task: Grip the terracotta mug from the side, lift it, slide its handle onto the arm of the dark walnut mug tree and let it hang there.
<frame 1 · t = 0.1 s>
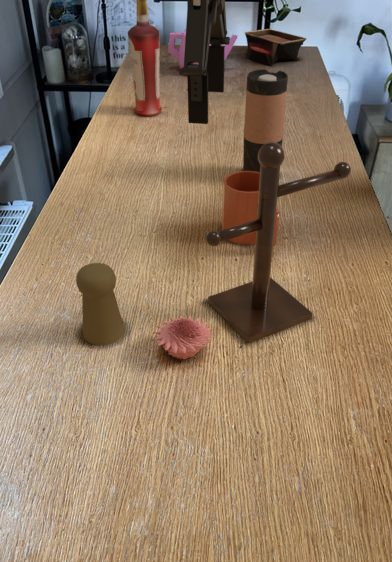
hand: (207, 106, 88), 23 cm above the table, tool pointing down, fingers open, 13 cm apart
mug: (245, 234, 104), on the table
travel mug: (260, 178, 121), on the table
olive brown pawn: (104, 335, 84), on the table
liquor: (148, 115, 149), on the table
dark brown boxy piece: (272, 61, 183), on the table
mug tree: (258, 312, 87), on the table
flower: (183, 354, 80), on the table
teapot: (202, 73, 174), on the table
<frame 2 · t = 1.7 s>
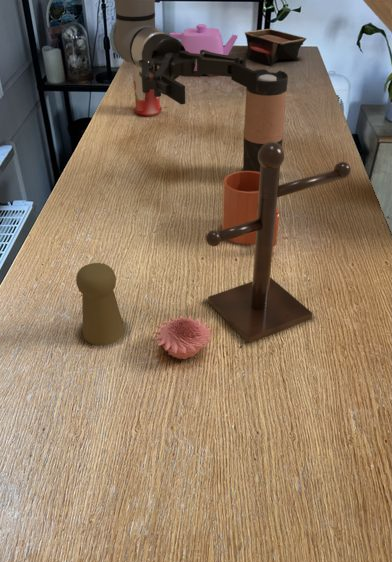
hand: (219, 88, 95), 22 cm above the table, tool horizontal, fingers open, 13 cm apart
nothing on the table moved.
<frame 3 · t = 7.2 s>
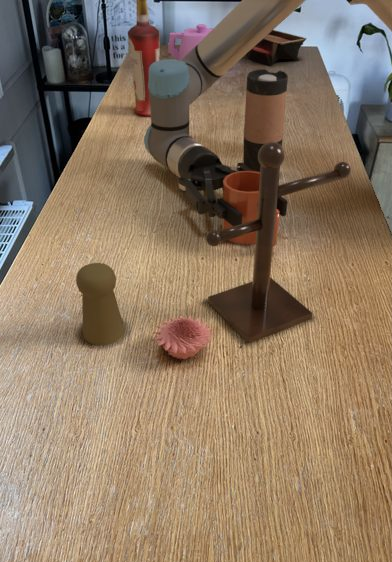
hand: (262, 215, 97), 6 cm above the table, tool horizontal, fingers closed on mug, 8 cm apart
mug: (245, 234, 104), on the table, touching gripper
everything else where it was.
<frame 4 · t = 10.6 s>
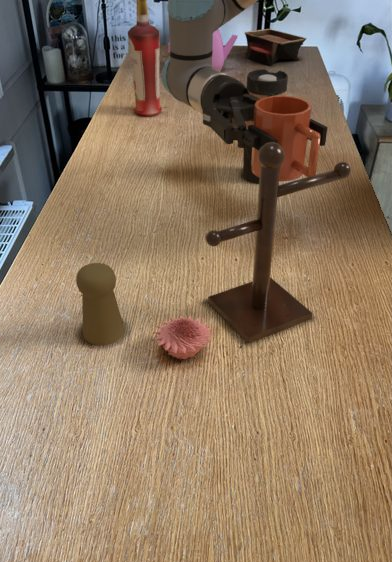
hand: (300, 142, 85), 19 cm above the table, tool horizontal, fingers closed on mug, 8 cm apart
mug: (277, 170, 93), point 13 cm above the table, touching gripper
everything else where it was.
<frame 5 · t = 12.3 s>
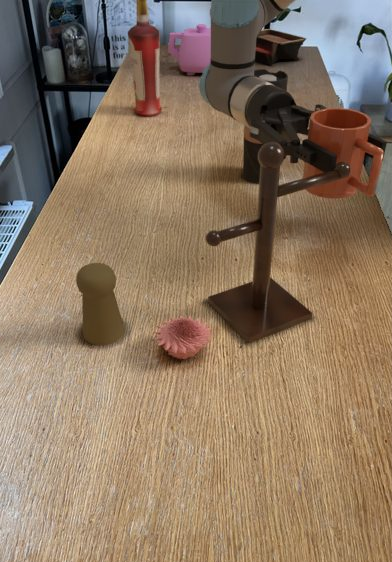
hand: (358, 158, 81), 20 cm above the table, tool horizontal, fingers closed on mug, 8 cm apart
mug: (330, 185, 88), point 14 cm above the table, touching gripper
everything else where it was.
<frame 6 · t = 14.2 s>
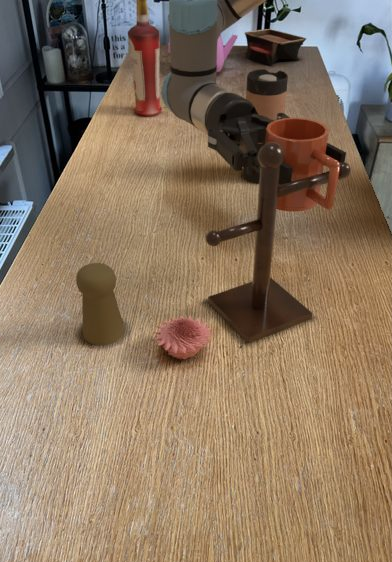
hand: (316, 170, 78), 20 cm above the table, tool horizontal, fingers closed on mug, 8 cm apart
mug: (290, 197, 85), point 14 cm above the table, touching gripper
everything else where it was.
when the fingers open (20 cm above the table, at t = 14.2 s): mug drops 4 cm and tips over, resting on mug tree.
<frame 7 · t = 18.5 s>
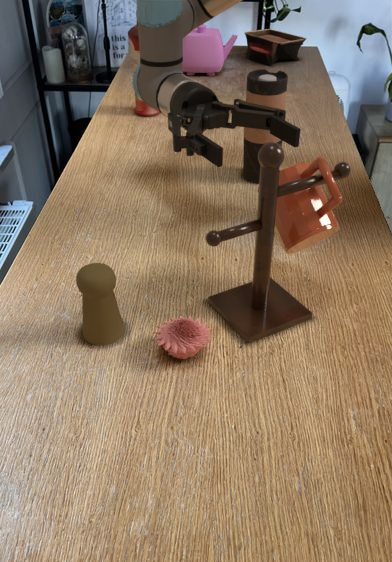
hand: (260, 147, 86), 19 cm above the table, tool horizontal, fingers open, 13 cm apart
mug: (312, 240, 83), point 10 cm above the table, tilted 50°, touching mug tree
everything else where it was.
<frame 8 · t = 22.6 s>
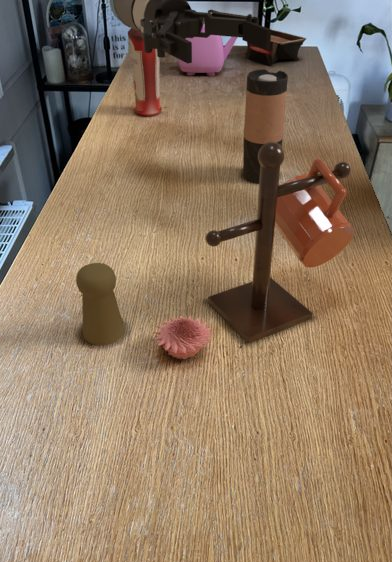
hand: (230, 46, 86), 30 cm above the table, tool horizontal, fingers open, 13 cm apart
mug: (328, 247, 81), point 10 cm above the table, tilted 69°, touching mug tree
everything else where it was.
at the end: mug touching mug tree; mug point 10.3 cm above the table; mug 9.2 cm from the mug tree (horizontally) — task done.
